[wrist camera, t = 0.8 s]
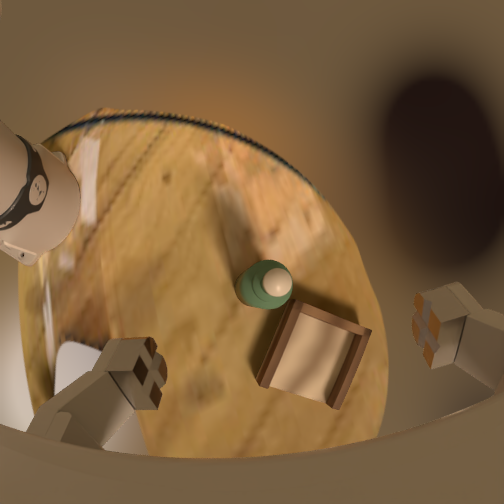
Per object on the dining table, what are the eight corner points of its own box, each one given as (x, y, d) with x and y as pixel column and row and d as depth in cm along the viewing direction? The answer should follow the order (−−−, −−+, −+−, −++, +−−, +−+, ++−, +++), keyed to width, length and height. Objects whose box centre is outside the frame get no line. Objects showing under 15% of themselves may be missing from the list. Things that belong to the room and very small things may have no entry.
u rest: (255, 379, 42) (259, 386, 38) (288, 299, 44) (295, 299, 40) (329, 402, 42) (339, 410, 39) (360, 328, 45) (372, 330, 41)
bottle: (231, 302, 43) (244, 305, 28) (238, 266, 44) (255, 248, 29) (268, 309, 43) (300, 315, 28) (274, 273, 44) (309, 260, 29)
